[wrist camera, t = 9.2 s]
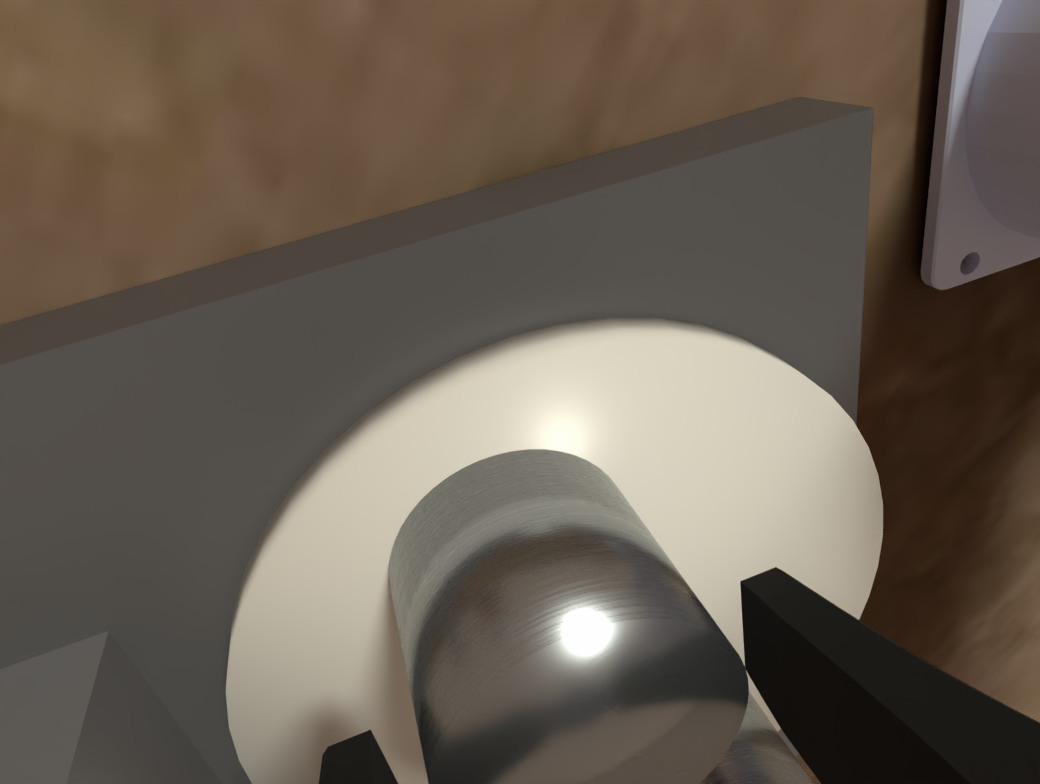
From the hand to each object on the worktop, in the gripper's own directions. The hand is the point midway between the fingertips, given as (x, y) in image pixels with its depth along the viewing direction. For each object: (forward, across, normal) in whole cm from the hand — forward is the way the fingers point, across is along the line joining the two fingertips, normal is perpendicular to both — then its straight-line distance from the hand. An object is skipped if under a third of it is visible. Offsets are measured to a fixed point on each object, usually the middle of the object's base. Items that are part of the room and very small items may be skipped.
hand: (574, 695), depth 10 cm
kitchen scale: (+6, +2, +3) cm, 7 cm away
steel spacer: (+3, 0, 0) cm, 3 cm away
